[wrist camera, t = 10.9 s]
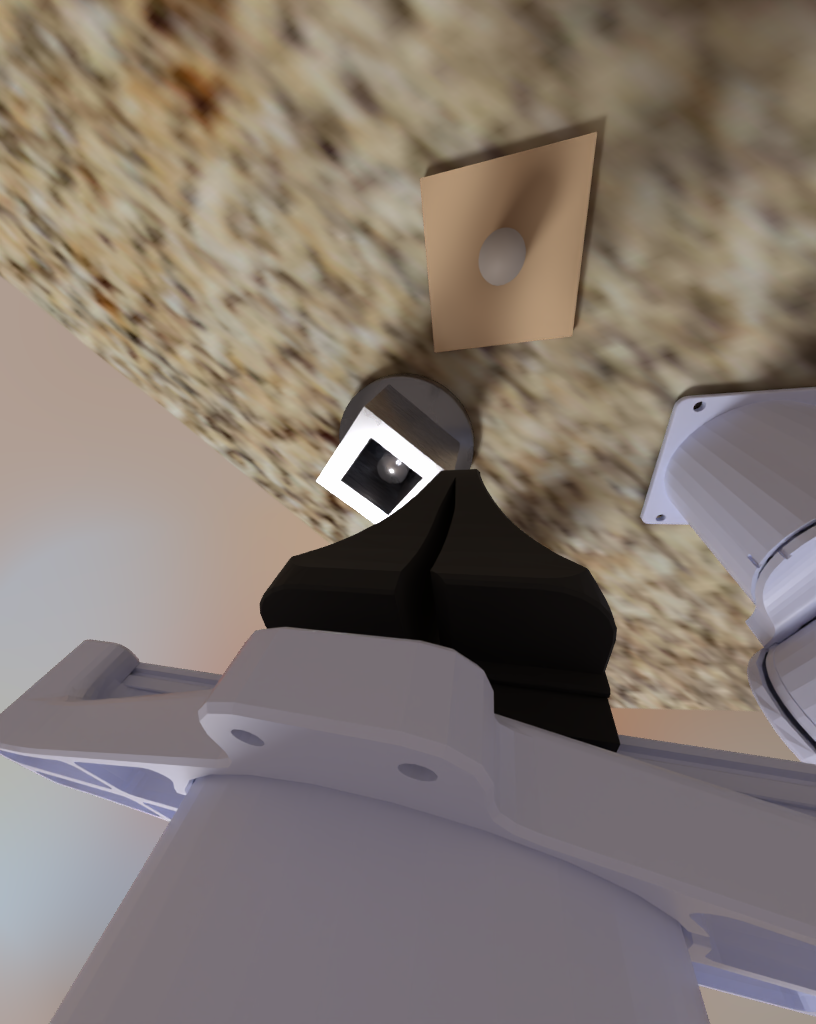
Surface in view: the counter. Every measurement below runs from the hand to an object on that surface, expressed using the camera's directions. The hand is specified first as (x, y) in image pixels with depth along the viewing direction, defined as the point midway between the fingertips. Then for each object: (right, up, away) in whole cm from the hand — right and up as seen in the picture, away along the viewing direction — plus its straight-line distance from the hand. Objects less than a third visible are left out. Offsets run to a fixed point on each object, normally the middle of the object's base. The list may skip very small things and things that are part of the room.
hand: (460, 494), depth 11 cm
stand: (+3, +12, +4) cm, 13 cm away
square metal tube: (-2, +4, +10) cm, 11 cm away
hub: (-2, +4, +11) cm, 12 cm away
